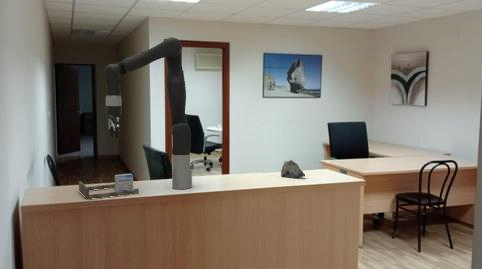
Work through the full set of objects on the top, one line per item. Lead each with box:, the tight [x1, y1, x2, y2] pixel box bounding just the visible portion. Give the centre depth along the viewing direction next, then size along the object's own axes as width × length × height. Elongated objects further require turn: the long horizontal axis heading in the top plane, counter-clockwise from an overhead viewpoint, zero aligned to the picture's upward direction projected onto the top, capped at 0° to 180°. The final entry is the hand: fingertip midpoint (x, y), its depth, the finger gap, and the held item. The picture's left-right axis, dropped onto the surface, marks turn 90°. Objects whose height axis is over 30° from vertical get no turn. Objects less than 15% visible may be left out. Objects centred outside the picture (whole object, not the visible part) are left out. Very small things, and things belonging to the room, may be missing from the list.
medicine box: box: [114, 173, 134, 192], centre depth 217 cm, size 8×4×9 cm, turn 124°
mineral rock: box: [280, 159, 306, 179], centre depth 253 cm, size 13×11×10 cm
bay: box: [78, 181, 140, 200], centre depth 216 cm, size 24×19×5 cm
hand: (114, 137), depth 222 cm, fingers open, 8 cm apart
